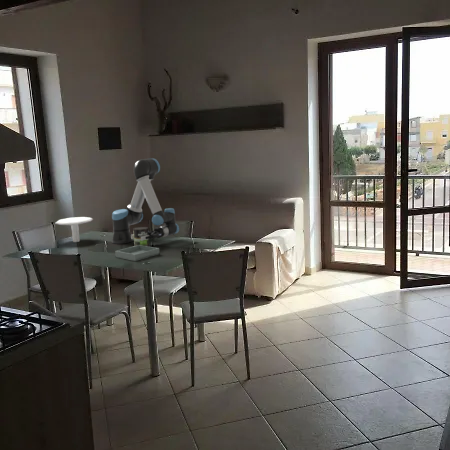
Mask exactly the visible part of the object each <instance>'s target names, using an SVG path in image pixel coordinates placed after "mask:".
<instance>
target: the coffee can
mask: <svg viewBox="0 0 450 450" xmlns="http://www.w3.org/2000/svg"><path fill="white" fill-rule="evenodd" d="M132 230H133V235H134V239H133V243H134V246H137V245H143V246H149V247H150V238H149V239H147V240H143V241H141V237H142V236H146V235H148V231H149V227H147V226H139V227H137V226H136V227H133V228H132Z"/></svg>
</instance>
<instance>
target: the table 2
mask: <svg viewBox="0 0 450 450" xmlns="http://www.w3.org/2000/svg"><path fill="white" fill-rule="evenodd" d="M93 220H94V218H92V217H89V216H88V217H87V216H77V217H75V216H73V217H67V218H61V219H58V220H57V221H55V223H54V225H60V226H70V227H71V233H72V234H71V235H72V236H71V237H72V242H73V243H78V242H80V241H81V240H80V229H79V225H82V224H85V223H91V222H92V221H93Z"/></svg>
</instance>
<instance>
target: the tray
mask: <svg viewBox="0 0 450 450" xmlns="http://www.w3.org/2000/svg"><path fill="white" fill-rule="evenodd" d="M114 253H115V258H118V259H124V260H128V261H132V262H137V261H141V260H144V259H147V258H151V257H155V256H159V255H160V248H159V247H152V246H150V245H149V246H143V245H137V246H135V245H134V246H129V247H126V248H122V249H118V250H115V251H114Z"/></svg>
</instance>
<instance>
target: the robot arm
mask: <svg viewBox="0 0 450 450" xmlns="http://www.w3.org/2000/svg"><path fill="white" fill-rule="evenodd" d="M160 171H161V165H160V163H159V161H158V160H157V159H156V158H151V157H150V158H144V159H143V158H142V159H139V160H137V161H136V162H135V163H134V165H133V175H134V178H135V180H136V182H137V184H136V186H135V189H134V191H133V196H132V199H131V202H130V203H129V204H128V205H127V207H126V209H125V208H122V209H115V210H114V211H113V212H112V213H111V219H112V229H113V233H112V239H111V243H112V244H116V245H117V244H119V245H120V244H128V243H133V242H134V234H131V231H130V226H132V225H137V224H139V223H140V222H142V220H143V218H144V214H143V209H142V207H143V204H144V202H145V200H146V202H147V205H148V207H149V210H150V213H151V215H152V218H151V222H152V224H153V225H154V226H158V227H155V228H154V229H153V230H151V231H150V230H148V235H146V236H142V237H141V241H143V240H147V239H149V240H151V239H152V240H154V239H161V238H165V237H168V236H172V235H176V234H178V233H179V231H180V226H179V224H177V223H176V212H175V209H174V208H172V207H169V208H165V209H164V211H163V209H162V207H161V205H160V202H159V199H158V197H157V195H156V192H155V190H154V187H153V184H152V183H151V181H153V180H154V179H155V176H156V175H157V174H158V173H159V172H160Z"/></svg>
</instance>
